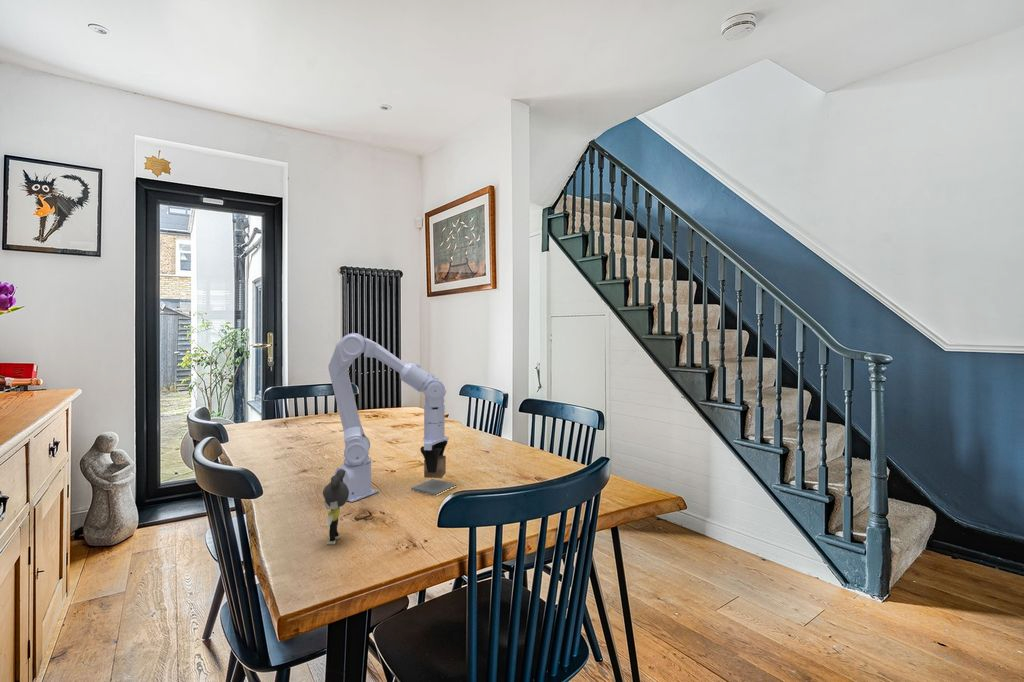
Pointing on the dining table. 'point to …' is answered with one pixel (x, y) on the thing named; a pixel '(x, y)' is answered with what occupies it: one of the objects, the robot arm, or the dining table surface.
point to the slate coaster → (433, 486)
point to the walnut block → (439, 471)
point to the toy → (335, 502)
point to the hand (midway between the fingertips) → (434, 469)
